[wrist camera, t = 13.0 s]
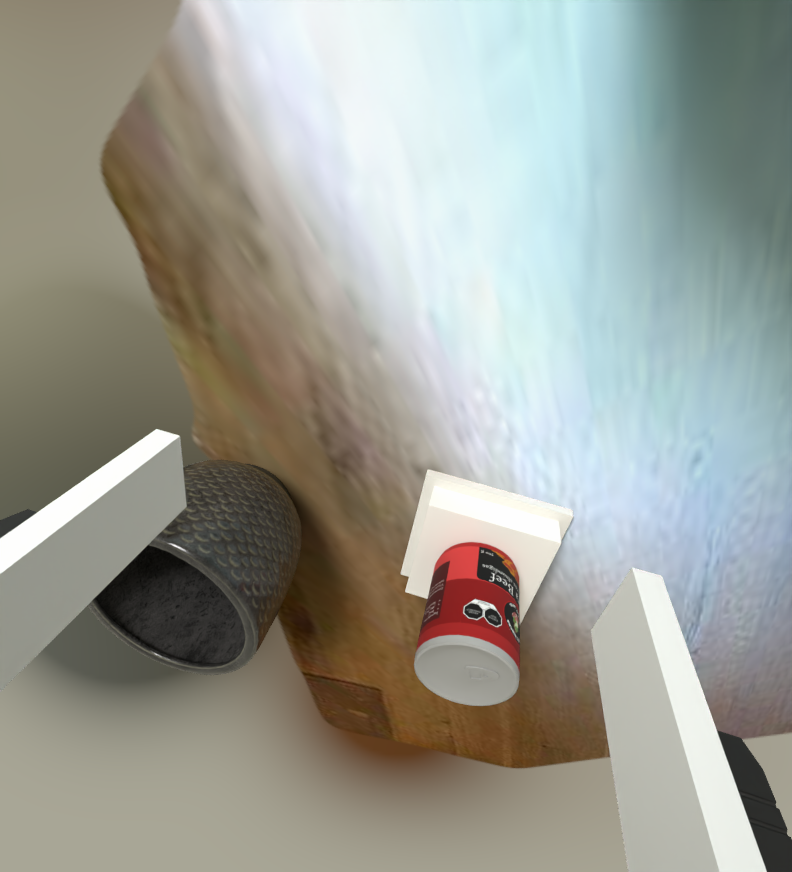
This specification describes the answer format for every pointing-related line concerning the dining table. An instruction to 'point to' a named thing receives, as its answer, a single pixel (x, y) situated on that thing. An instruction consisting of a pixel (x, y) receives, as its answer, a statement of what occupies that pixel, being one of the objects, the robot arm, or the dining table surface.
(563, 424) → the dining table surface
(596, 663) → the robot arm
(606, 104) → the dining table surface
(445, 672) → the canned food
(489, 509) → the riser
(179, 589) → the planter
